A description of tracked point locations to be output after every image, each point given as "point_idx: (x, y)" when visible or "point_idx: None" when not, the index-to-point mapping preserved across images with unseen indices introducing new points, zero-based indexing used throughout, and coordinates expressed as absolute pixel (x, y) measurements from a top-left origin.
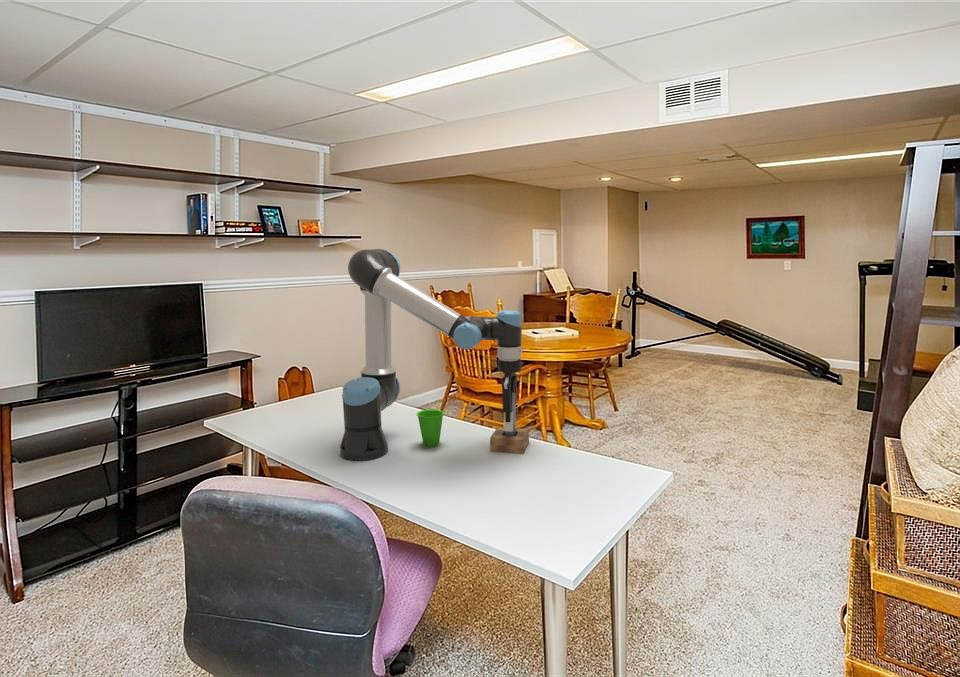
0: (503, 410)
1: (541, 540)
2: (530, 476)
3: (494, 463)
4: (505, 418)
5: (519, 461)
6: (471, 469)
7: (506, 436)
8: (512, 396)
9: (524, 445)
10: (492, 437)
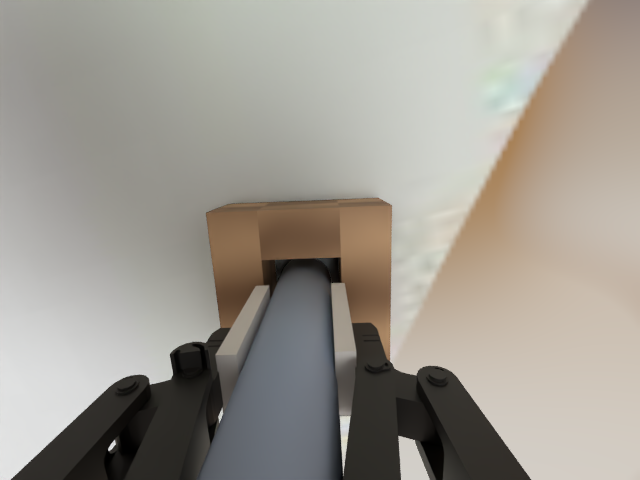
0: (110, 394)
1: None
2: (56, 395)
3: (109, 256)
4: (206, 343)
5: (165, 338)
6: (13, 184)
7: (253, 289)
8: None
9: None
10: (214, 223)
